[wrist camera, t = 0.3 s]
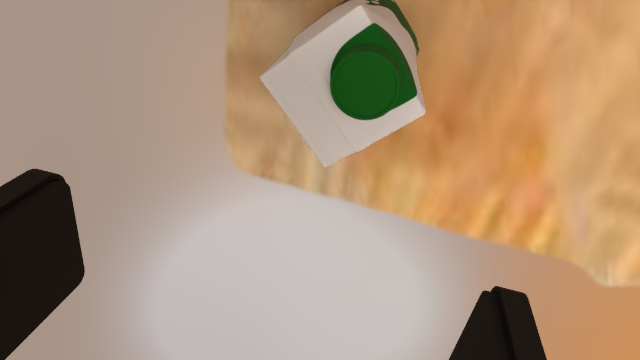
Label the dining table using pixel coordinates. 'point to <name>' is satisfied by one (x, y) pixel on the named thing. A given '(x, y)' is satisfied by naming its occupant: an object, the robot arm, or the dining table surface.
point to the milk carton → (349, 78)
